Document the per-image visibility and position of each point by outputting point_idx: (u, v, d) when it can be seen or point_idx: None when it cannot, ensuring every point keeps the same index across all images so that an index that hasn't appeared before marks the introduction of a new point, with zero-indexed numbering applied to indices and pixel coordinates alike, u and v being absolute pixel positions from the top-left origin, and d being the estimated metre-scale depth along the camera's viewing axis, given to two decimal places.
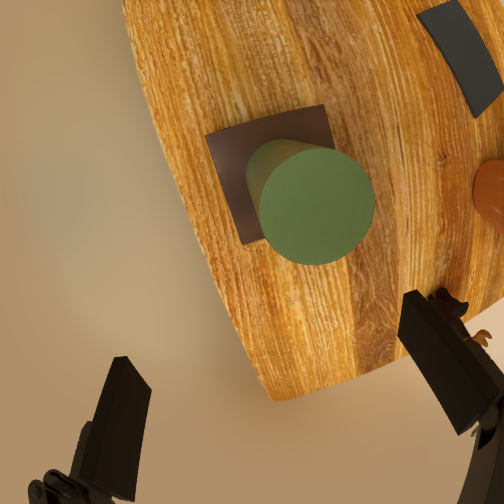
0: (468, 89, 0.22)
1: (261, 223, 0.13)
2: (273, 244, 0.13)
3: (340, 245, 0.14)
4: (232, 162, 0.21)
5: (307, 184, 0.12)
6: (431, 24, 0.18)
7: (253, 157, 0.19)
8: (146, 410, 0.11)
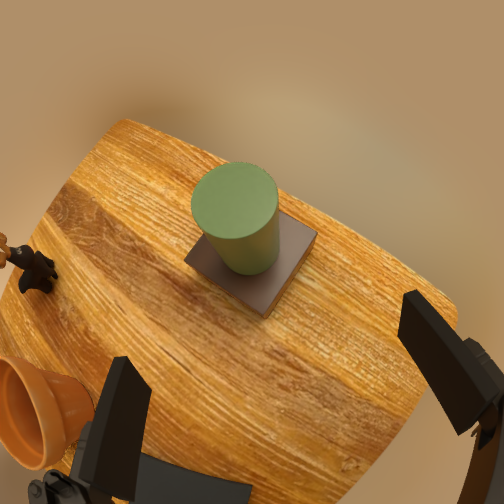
0: (158, 467, 0.24)
1: (260, 168, 0.19)
2: (244, 163, 0.19)
3: (203, 191, 0.19)
4: (287, 229, 0.28)
5: (254, 202, 0.18)
6: (234, 490, 0.23)
7: None
8: (146, 410, 0.11)
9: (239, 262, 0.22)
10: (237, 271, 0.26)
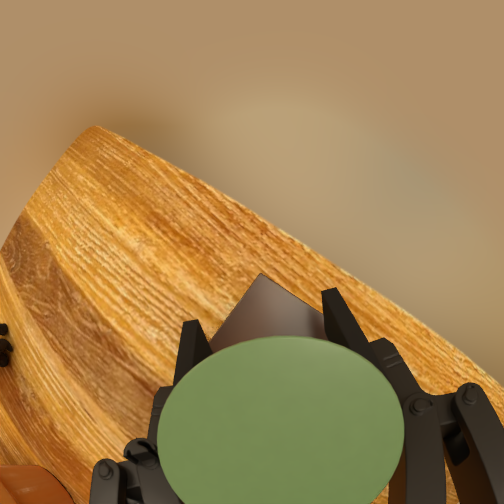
0: None
1: (366, 363, 0.05)
2: (317, 345, 0.06)
3: (186, 427, 0.05)
4: None
5: (339, 472, 0.04)
6: None
7: None
8: None
9: None
10: None
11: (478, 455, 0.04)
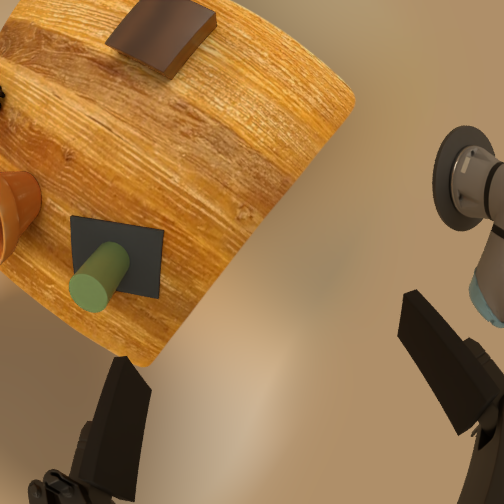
0: (91, 226, 0.36)
1: (94, 279, 0.29)
2: (86, 275, 0.29)
3: (73, 288, 0.30)
4: (189, 10, 0.22)
5: (97, 297, 0.30)
6: (149, 236, 0.38)
7: (125, 262, 0.38)
8: (146, 410, 0.11)
9: None
10: None
11: None
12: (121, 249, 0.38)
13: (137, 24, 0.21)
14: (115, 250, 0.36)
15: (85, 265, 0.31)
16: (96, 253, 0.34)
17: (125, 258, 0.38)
